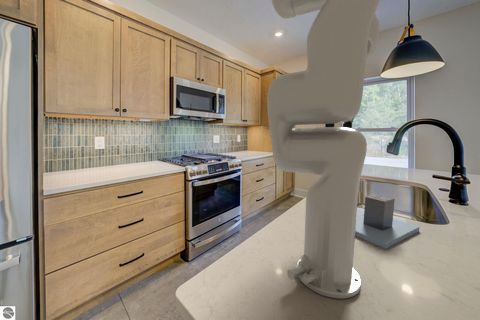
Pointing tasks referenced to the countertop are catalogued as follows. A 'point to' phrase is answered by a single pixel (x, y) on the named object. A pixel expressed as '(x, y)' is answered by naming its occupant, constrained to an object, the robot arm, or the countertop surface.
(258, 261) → the countertop surface
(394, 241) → the post board
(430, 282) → the countertop surface
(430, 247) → the countertop surface
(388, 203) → the grey block
